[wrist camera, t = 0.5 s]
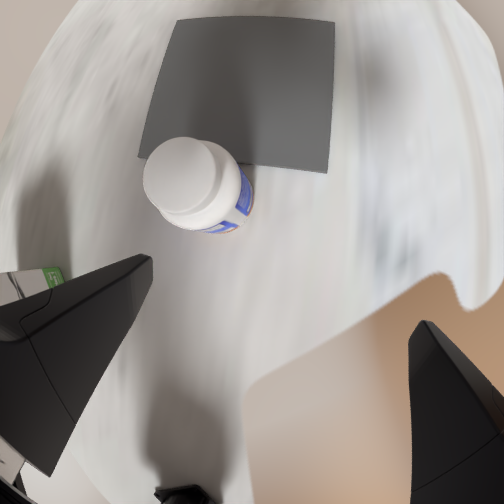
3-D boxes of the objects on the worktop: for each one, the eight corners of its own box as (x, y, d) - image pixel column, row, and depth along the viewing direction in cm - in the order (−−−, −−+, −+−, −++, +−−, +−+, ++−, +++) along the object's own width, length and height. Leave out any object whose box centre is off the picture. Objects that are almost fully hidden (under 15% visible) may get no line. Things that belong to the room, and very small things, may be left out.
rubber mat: (326, 173, 23) (327, 172, 22) (140, 158, 25) (137, 156, 24) (334, 25, 22) (334, 22, 22) (178, 23, 24) (177, 20, 24)
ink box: (60, 264, 26) (-33, 270, 15) (76, 310, 26) (-15, 335, 14) (19, 293, 27) (-60, 306, 16) (33, 334, 27) (-44, 358, 15)
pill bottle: (218, 155, 24) (176, 104, 14) (269, 195, 24) (253, 160, 14) (176, 206, 25) (112, 183, 15) (224, 249, 24) (180, 248, 14)
